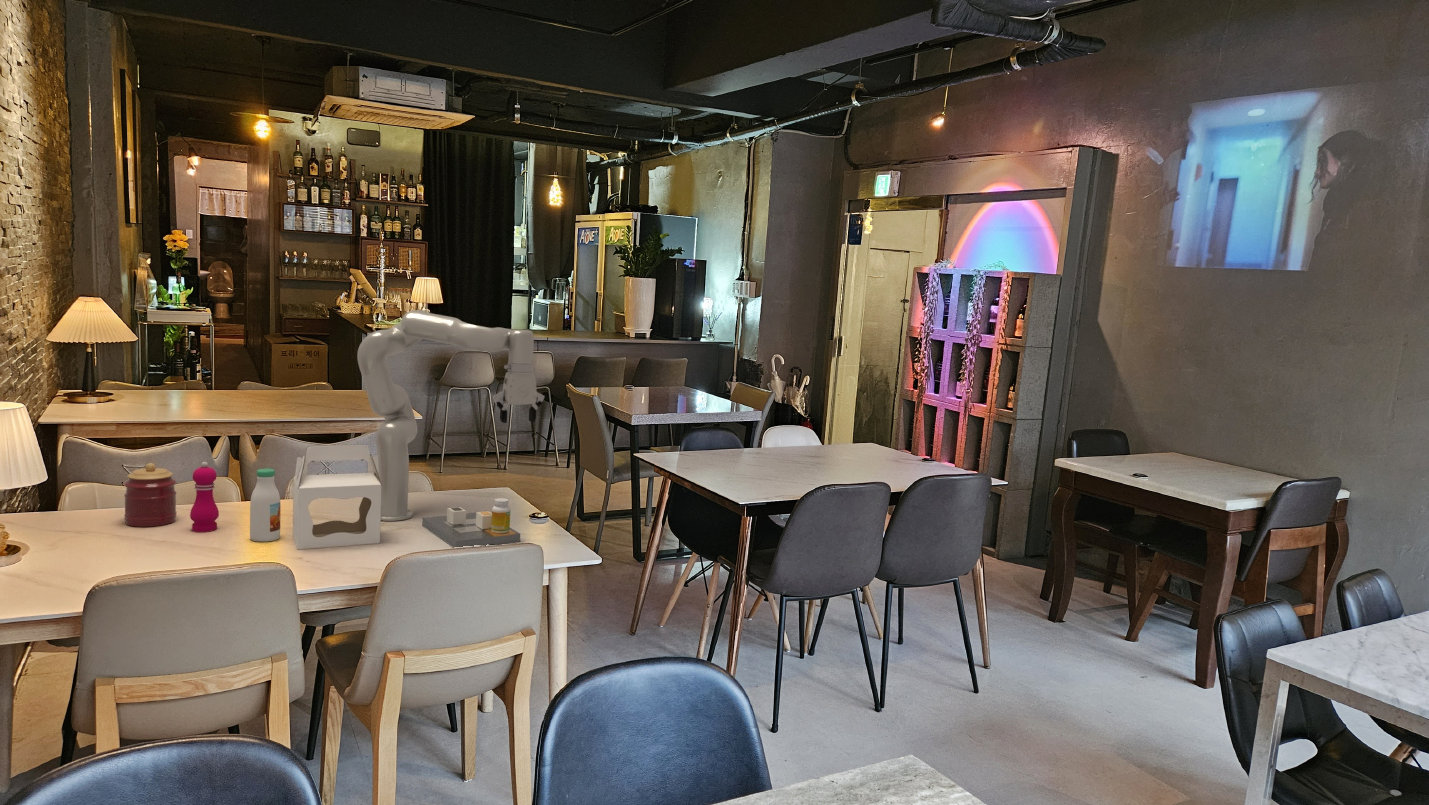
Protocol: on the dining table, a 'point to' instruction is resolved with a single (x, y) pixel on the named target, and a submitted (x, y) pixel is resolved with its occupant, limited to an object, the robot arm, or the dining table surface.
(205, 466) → the pepper mill
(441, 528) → the panel
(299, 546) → the gable box
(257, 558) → the dining table surface
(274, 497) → the milk bottle
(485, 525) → the block
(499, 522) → the supplement bottle
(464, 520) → the block
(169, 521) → the canister
